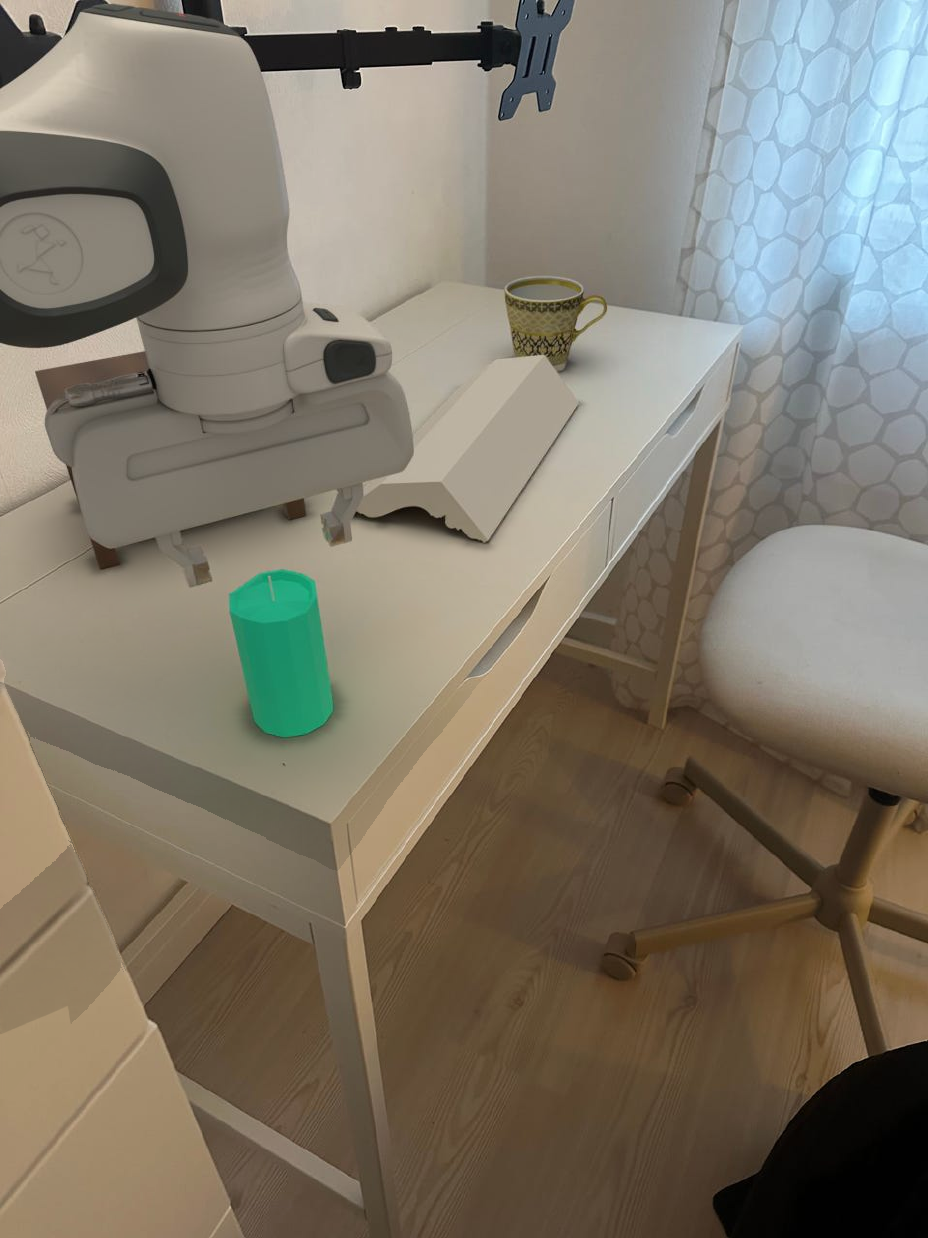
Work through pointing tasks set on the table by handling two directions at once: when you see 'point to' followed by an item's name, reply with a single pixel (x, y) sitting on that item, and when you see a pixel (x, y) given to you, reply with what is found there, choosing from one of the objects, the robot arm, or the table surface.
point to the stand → (101, 371)
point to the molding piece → (479, 447)
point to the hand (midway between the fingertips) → (270, 559)
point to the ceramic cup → (546, 316)
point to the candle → (282, 652)
